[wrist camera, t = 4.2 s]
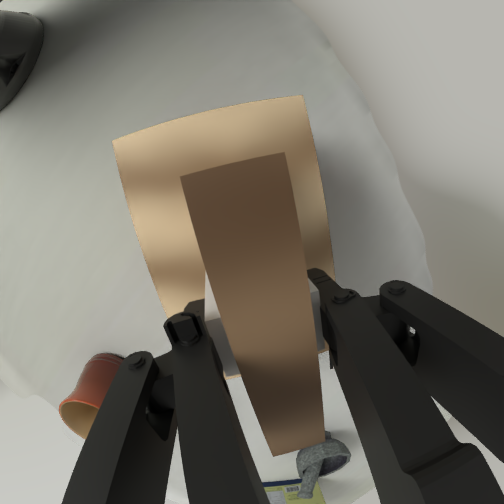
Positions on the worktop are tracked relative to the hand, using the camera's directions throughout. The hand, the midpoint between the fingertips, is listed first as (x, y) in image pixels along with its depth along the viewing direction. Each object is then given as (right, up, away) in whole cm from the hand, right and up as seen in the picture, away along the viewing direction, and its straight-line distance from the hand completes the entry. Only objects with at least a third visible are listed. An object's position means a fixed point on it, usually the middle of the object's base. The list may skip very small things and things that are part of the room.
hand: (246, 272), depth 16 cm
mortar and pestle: (+11, -34, +26) cm, 44 cm away
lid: (-1, +1, +3) cm, 4 cm away
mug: (-17, -15, +16) cm, 27 cm away
